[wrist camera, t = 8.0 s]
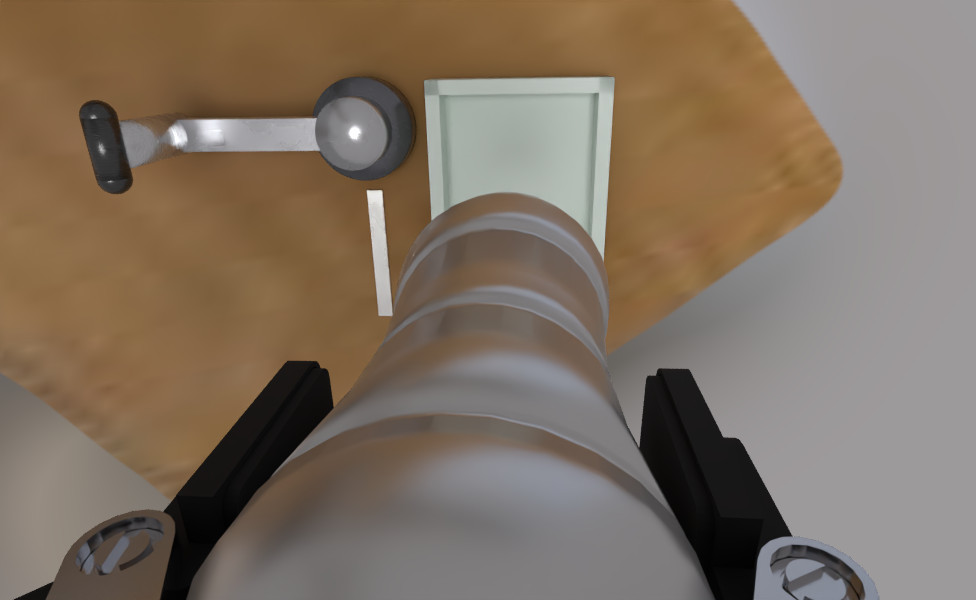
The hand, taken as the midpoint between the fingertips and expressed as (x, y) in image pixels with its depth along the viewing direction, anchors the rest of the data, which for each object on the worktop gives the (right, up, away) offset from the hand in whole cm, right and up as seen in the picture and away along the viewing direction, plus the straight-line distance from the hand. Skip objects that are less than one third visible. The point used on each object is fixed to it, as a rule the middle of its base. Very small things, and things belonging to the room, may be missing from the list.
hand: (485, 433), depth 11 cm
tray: (+2, +11, +26) cm, 28 cm away
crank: (-13, +13, +24) cm, 30 cm away
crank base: (-7, +9, +27) cm, 30 cm away
